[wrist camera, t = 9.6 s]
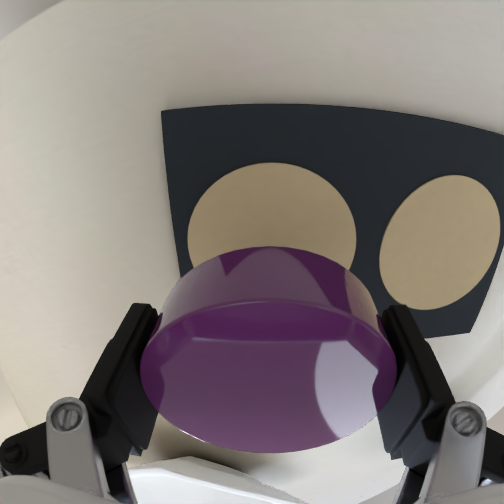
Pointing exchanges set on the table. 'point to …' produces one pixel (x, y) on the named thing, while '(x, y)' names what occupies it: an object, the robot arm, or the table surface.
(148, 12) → the table surface
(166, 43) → the table surface
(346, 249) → the placemat
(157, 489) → the bowl
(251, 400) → the purple short cylinder
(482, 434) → the robot arm
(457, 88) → the table surface
